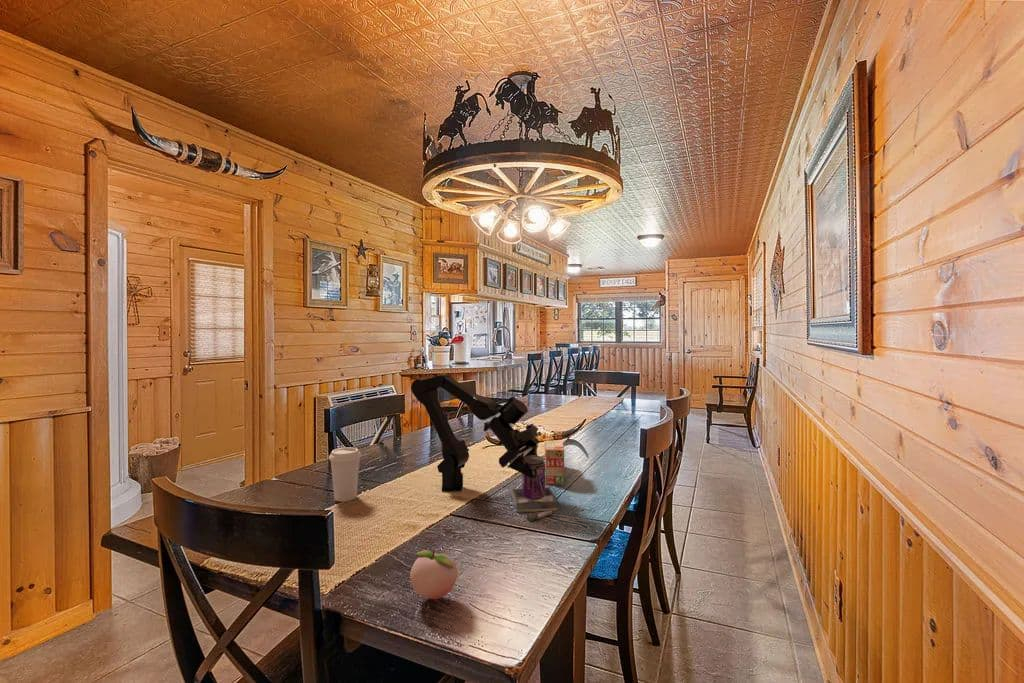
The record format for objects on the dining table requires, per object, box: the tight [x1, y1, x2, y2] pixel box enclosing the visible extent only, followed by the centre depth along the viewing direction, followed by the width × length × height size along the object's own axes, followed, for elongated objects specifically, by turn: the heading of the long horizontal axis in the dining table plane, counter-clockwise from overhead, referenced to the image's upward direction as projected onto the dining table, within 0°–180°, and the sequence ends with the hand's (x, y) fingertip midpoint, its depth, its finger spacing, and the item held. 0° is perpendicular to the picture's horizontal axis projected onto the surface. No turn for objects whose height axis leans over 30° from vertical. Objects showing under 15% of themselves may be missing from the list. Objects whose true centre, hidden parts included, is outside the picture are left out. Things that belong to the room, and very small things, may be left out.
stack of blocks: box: [544, 440, 565, 485], centre depth 171 cm, size 21×6×12 cm, turn 177°
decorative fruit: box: [409, 549, 458, 600], centre depth 93 cm, size 9×8×10 cm
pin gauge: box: [526, 510, 553, 522], centre depth 133 cm, size 8×2×2 cm, turn 127°
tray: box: [511, 487, 559, 513], centre depth 144 cm, size 12×12×2 cm
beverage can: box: [521, 455, 546, 500], centre depth 144 cm, size 7×7×12 cm
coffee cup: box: [328, 446, 362, 503], centre depth 148 cm, size 10×10×15 cm
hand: (537, 473), depth 143 cm, fingers closed on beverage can, 7 cm apart
